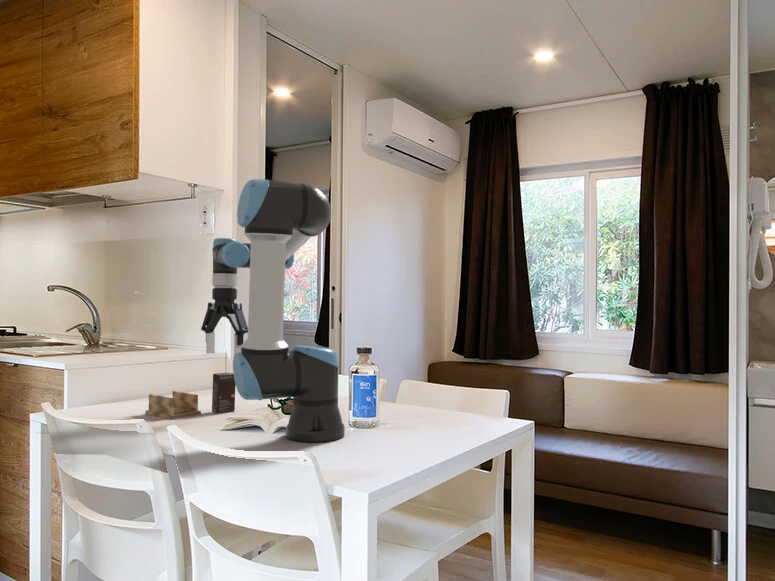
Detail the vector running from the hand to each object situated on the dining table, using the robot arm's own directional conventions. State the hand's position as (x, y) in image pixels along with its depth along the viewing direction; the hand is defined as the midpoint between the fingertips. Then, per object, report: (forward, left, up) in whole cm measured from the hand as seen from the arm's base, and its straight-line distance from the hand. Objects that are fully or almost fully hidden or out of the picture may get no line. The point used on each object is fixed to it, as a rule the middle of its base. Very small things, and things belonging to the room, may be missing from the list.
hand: (223, 354), depth 188 cm
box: (0, 0, -18) cm, 18 cm away
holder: (+9, +12, -18) cm, 23 cm away
